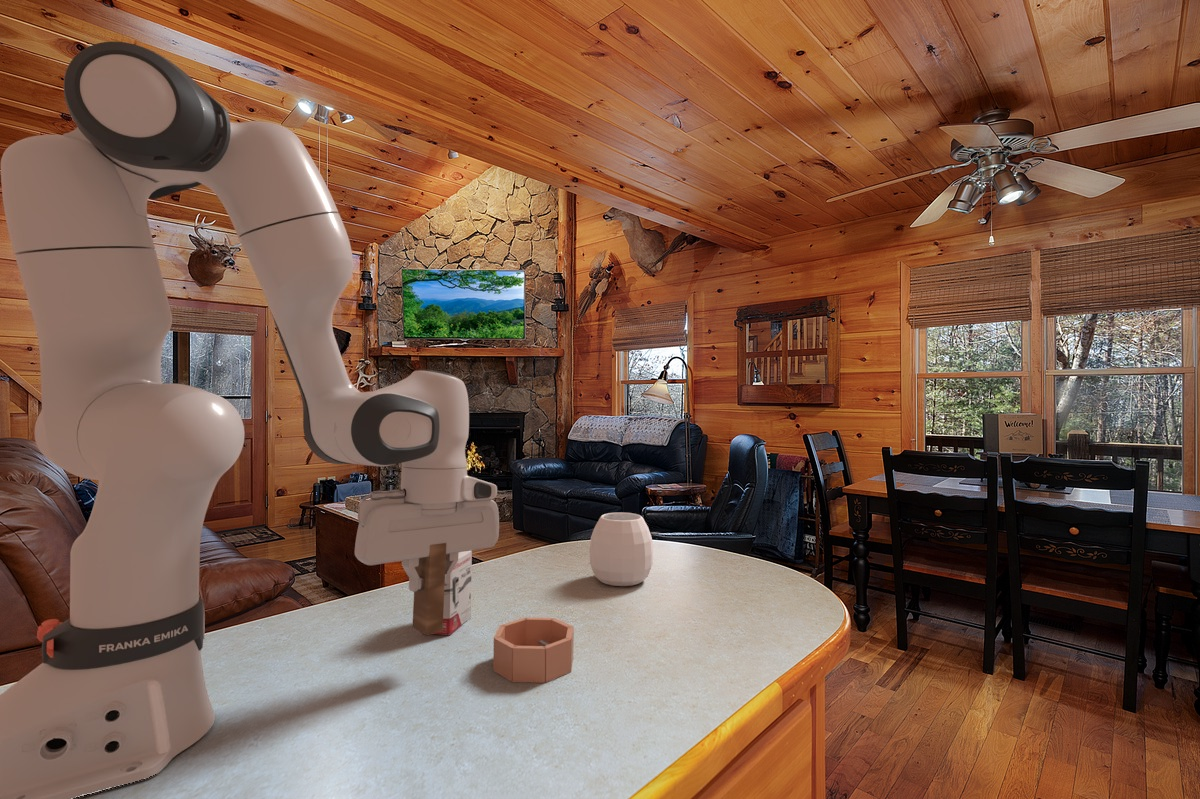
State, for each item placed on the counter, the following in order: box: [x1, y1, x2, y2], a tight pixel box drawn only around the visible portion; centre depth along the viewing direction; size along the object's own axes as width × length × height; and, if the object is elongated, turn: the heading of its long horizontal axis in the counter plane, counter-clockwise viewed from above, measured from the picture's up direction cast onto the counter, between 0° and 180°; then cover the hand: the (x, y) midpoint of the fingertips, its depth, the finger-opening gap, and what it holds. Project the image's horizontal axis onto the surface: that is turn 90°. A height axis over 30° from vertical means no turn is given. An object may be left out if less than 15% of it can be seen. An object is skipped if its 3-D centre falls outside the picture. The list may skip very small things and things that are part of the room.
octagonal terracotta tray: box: [493, 617, 575, 684], centre depth 82 cm, size 11×11×4 cm
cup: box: [589, 511, 654, 587], centre depth 120 cm, size 13×13×14 cm
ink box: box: [433, 550, 473, 636], centre depth 96 cm, size 9×5×12 cm, turn 168°
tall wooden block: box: [412, 543, 446, 636], centre depth 80 cm, size 2×4×12 cm, turn 44°
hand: (429, 587), depth 80 cm, fingers closed on tall wooden block, 2 cm apart
